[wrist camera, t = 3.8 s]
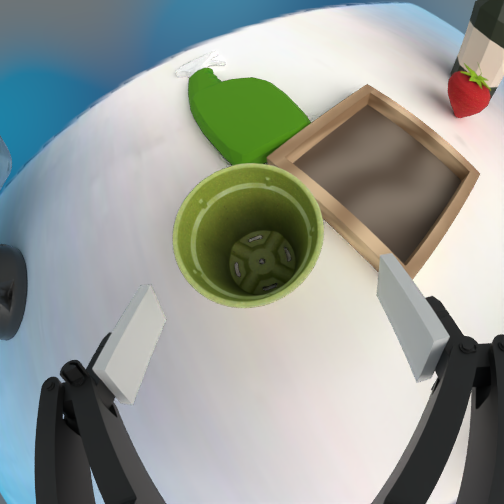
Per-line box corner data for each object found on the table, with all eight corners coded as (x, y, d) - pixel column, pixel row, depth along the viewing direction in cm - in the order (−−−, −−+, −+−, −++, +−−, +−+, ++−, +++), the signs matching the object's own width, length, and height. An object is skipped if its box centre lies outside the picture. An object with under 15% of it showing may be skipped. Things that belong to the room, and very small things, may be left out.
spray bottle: (236, 183, 28) (165, 84, 36) (321, 137, 28) (224, 55, 36) (230, 167, 25) (158, 71, 33) (322, 119, 25) (220, 41, 33)
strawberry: (428, 104, 27) (448, 51, 18) (456, 98, 27) (477, 52, 17) (454, 135, 25) (484, 84, 16) (481, 127, 25) (508, 83, 16)
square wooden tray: (269, 171, 27) (266, 157, 25) (364, 98, 28) (367, 84, 26) (396, 291, 22) (407, 286, 19) (470, 184, 23) (480, 173, 21)
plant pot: (227, 329, 23) (191, 327, 15) (200, 234, 26) (161, 192, 18) (329, 295, 23) (347, 275, 15) (292, 201, 26) (289, 145, 18)
